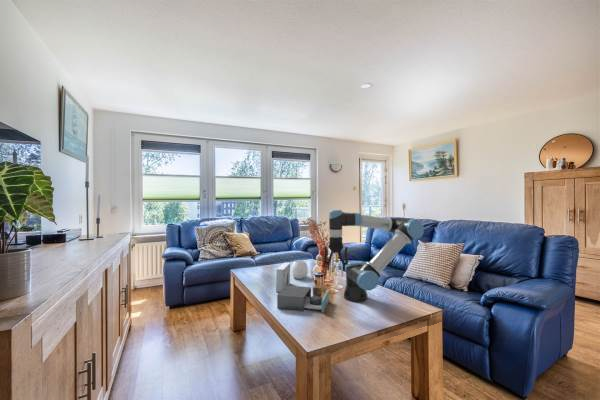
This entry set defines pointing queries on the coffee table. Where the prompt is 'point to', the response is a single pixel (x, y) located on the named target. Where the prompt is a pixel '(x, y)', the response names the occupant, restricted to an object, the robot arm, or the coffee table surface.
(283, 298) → the player housing
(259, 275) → the coffee table surface
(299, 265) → the cup
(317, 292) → the walnut block
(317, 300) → the puck
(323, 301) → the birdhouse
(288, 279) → the skincare box
